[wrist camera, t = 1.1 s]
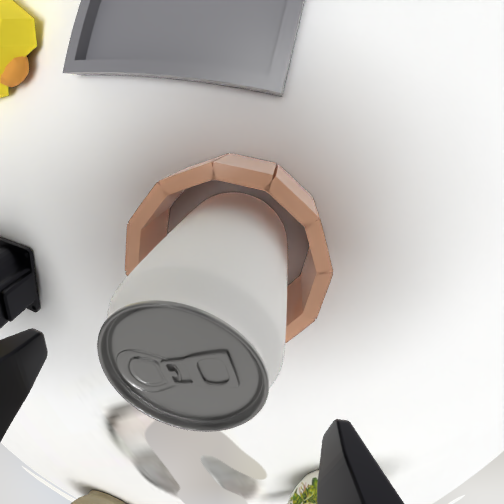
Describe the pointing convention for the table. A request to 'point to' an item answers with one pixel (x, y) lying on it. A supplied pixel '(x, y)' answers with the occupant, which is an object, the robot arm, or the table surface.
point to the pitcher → (306, 490)
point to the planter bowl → (97, 499)
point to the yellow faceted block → (14, 44)
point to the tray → (187, 40)
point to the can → (203, 318)
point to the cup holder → (254, 176)
